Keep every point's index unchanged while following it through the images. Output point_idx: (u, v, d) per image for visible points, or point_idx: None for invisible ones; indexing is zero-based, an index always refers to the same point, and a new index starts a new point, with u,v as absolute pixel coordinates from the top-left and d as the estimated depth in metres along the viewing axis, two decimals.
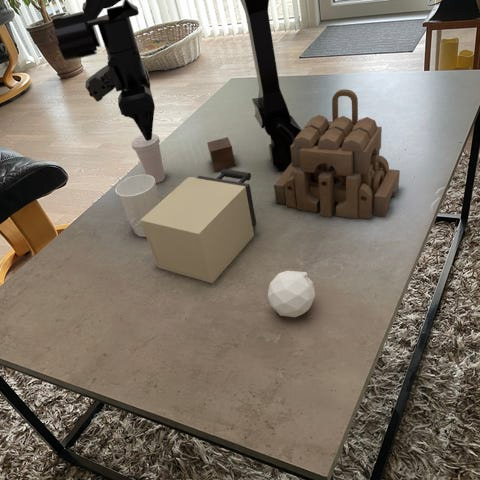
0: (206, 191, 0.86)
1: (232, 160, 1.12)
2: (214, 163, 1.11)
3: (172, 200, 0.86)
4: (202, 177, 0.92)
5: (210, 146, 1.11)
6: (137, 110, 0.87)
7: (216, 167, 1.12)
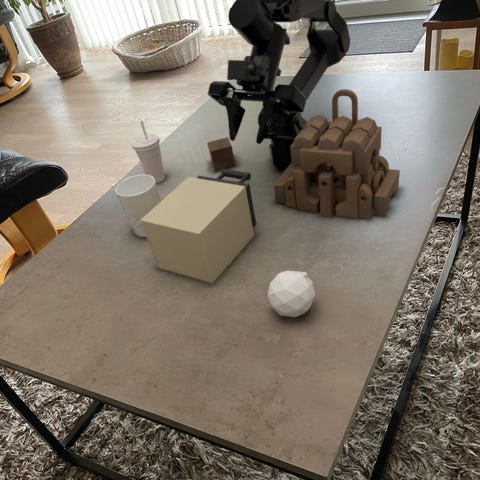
0: (206, 191, 0.86)
1: (232, 160, 1.12)
2: (214, 163, 1.11)
3: (172, 200, 0.86)
4: (202, 177, 0.92)
5: (210, 146, 1.11)
6: (298, 104, 0.88)
7: (216, 167, 1.12)
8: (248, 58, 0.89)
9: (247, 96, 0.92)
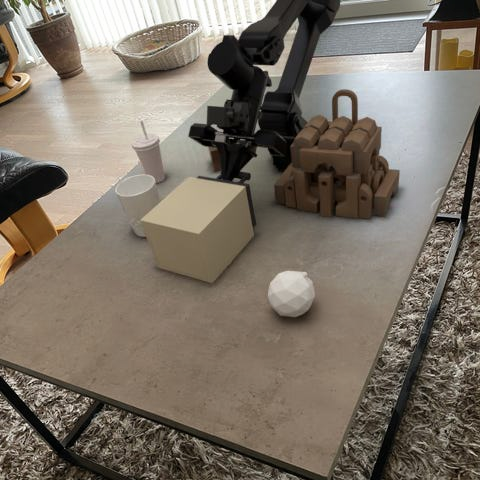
0: (206, 191, 0.86)
1: None
2: (214, 163, 1.11)
3: (172, 200, 0.86)
4: (202, 177, 0.92)
5: None
6: (279, 149, 0.86)
7: (216, 167, 1.12)
8: (228, 102, 0.88)
9: None
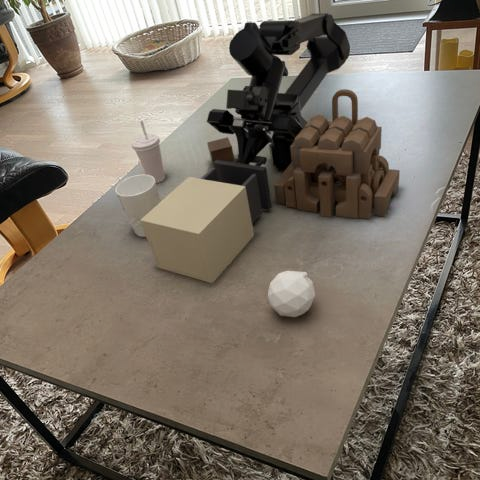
0: (206, 191, 0.86)
1: (232, 160, 1.12)
2: None
3: (172, 200, 0.86)
4: (220, 161, 0.95)
5: (210, 146, 1.11)
6: (295, 133, 0.90)
7: None
8: (247, 88, 0.91)
9: None
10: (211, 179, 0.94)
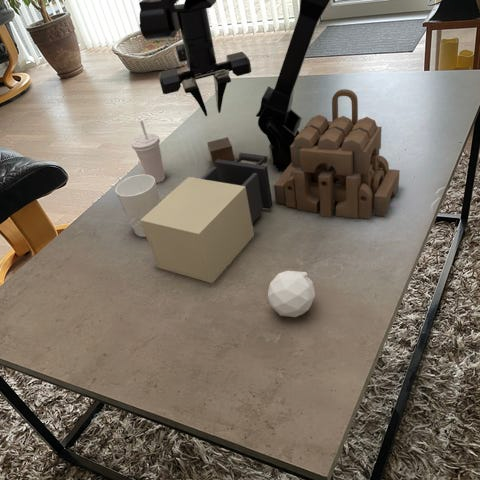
0: (206, 191, 0.86)
1: (232, 160, 1.12)
2: (214, 163, 1.11)
3: (172, 200, 0.86)
4: (221, 160, 0.95)
5: (210, 146, 1.11)
6: None
7: None
8: None
9: None
10: (212, 178, 0.94)
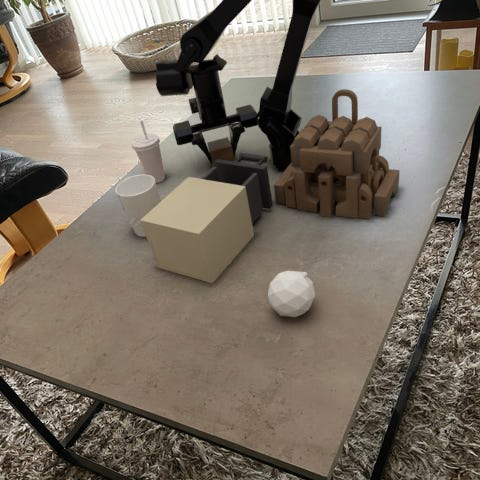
0: (206, 191, 0.86)
1: (232, 160, 1.12)
2: (214, 163, 1.11)
3: (172, 200, 0.86)
4: (221, 160, 0.95)
5: (210, 146, 1.11)
6: None
7: None
8: None
9: None
10: (212, 178, 0.94)
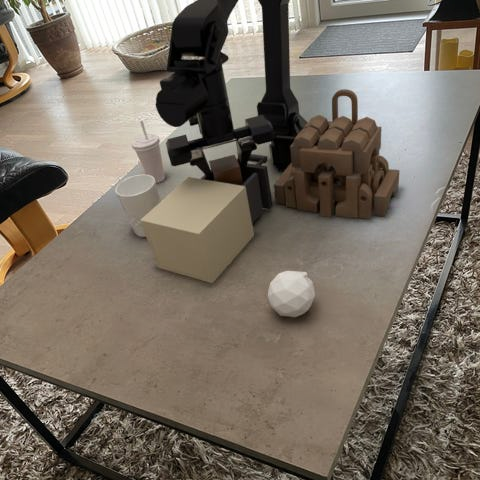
0: (206, 191, 0.86)
1: (240, 183, 0.90)
2: None
3: (172, 200, 0.86)
4: None
5: (213, 166, 0.89)
6: None
7: None
8: None
9: None
10: None
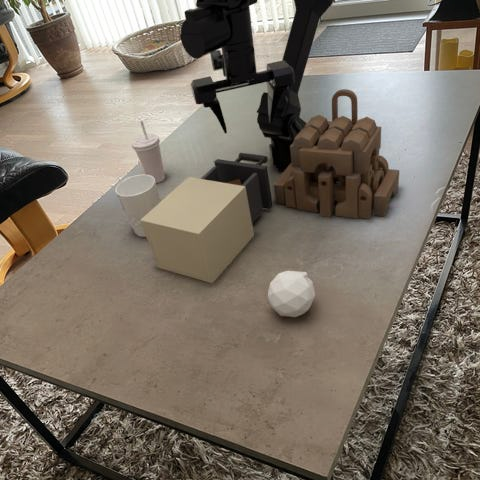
0: (206, 191, 0.86)
1: None
2: None
3: (172, 200, 0.86)
4: (221, 160, 0.95)
5: None
6: (194, 97, 0.90)
7: None
8: None
9: None
10: (212, 178, 0.94)
